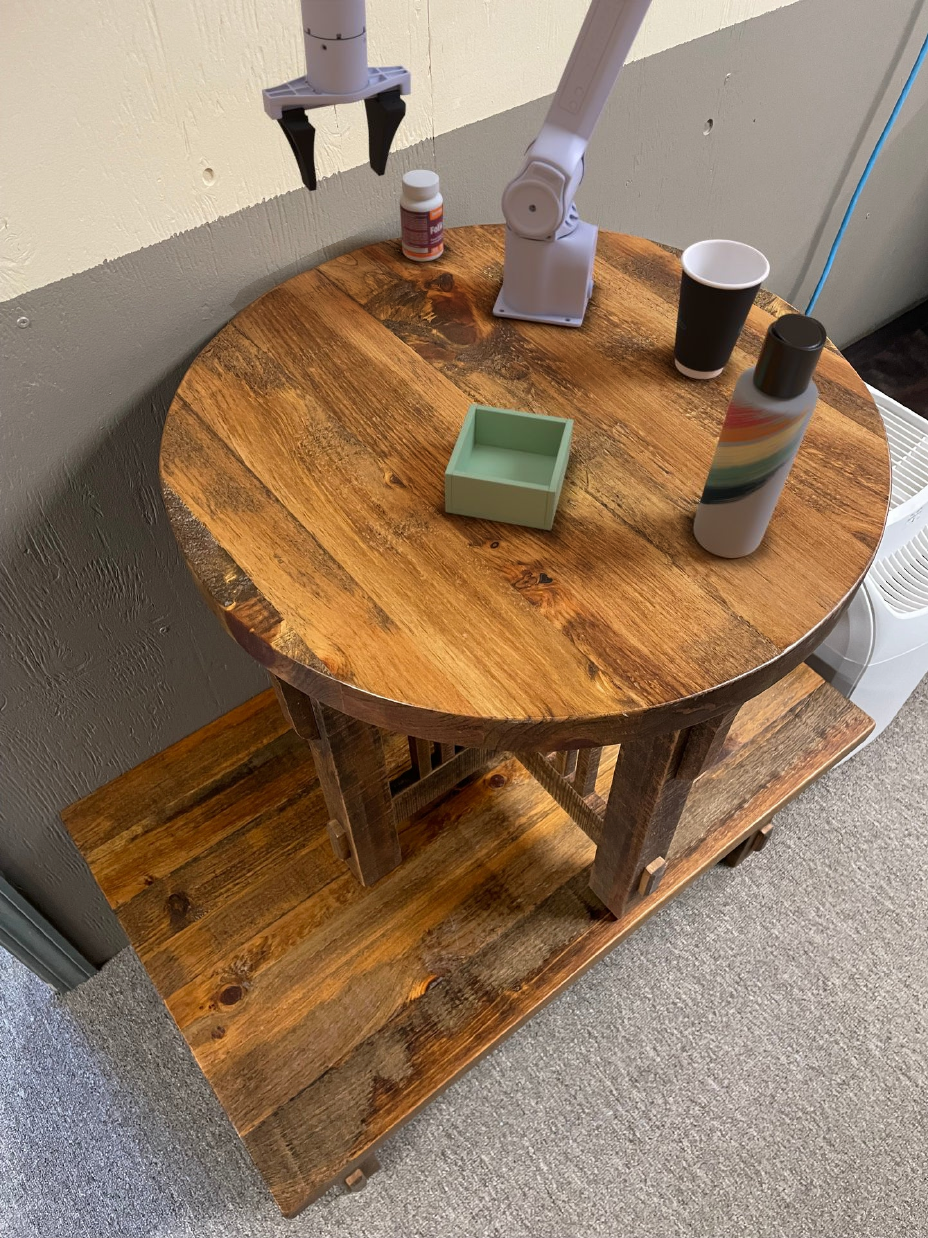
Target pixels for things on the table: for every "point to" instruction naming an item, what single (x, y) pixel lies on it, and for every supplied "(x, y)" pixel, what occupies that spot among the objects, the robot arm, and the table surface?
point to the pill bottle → (421, 215)
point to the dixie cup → (714, 303)
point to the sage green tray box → (508, 466)
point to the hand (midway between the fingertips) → (343, 178)
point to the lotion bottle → (760, 438)
